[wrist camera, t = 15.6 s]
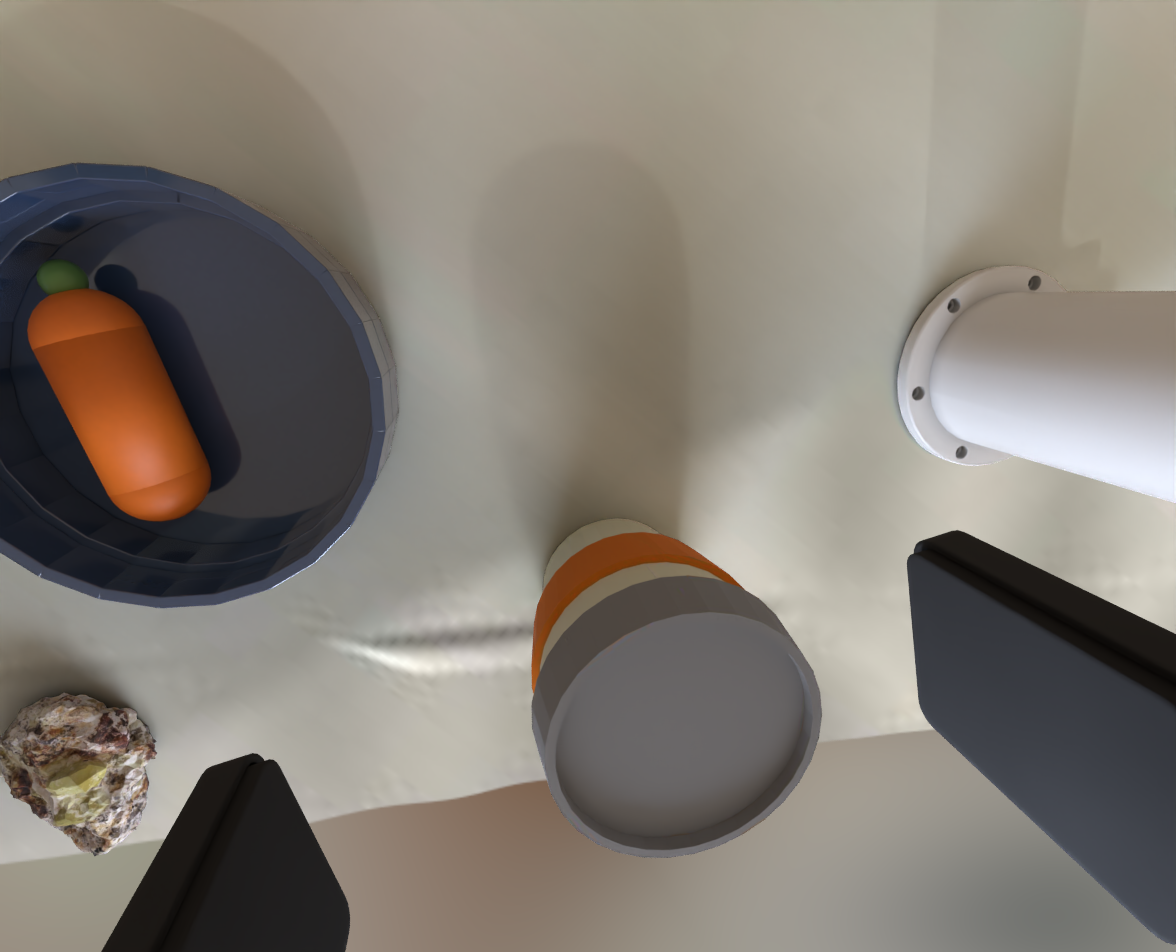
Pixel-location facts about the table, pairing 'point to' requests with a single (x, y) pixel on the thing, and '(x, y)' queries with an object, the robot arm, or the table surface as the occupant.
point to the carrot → (117, 396)
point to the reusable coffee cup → (664, 695)
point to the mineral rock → (79, 767)
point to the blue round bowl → (192, 386)
